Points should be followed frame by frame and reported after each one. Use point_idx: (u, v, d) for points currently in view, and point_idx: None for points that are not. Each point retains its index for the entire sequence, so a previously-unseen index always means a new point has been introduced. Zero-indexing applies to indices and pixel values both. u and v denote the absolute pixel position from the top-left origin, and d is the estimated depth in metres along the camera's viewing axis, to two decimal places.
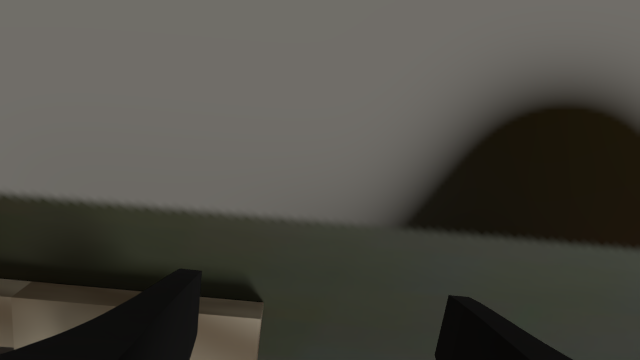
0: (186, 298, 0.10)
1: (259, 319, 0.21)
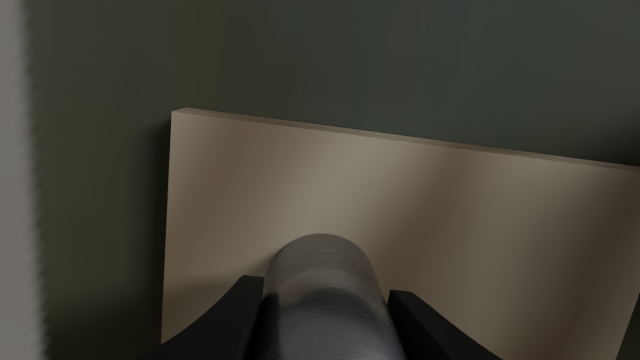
0: (258, 305, 0.10)
1: (173, 114, 0.12)
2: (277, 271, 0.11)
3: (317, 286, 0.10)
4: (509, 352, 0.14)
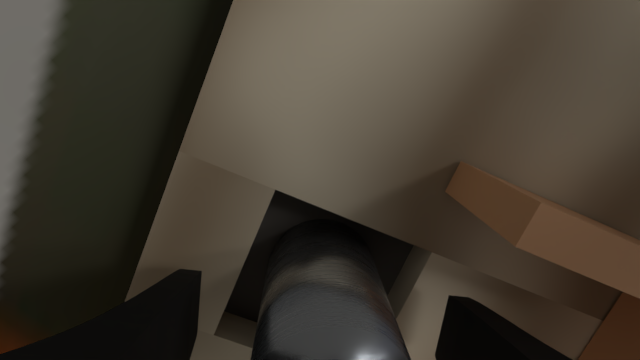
0: (186, 298, 0.10)
1: None
2: (280, 253, 0.12)
3: (317, 264, 0.10)
4: (633, 139, 0.12)
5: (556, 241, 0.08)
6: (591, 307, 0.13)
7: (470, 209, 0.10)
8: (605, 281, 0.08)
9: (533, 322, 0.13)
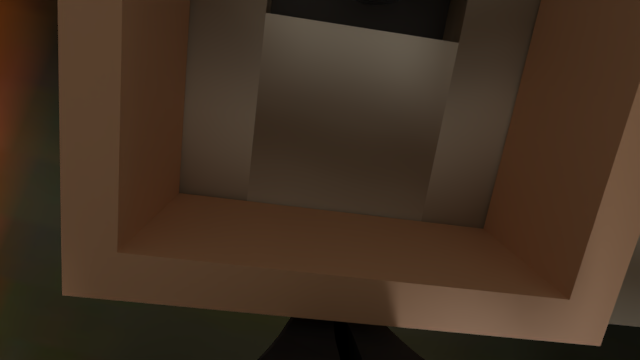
0: None
1: None
2: None
3: None
4: None
5: None
6: None
7: None
8: None
9: (395, 190, 0.12)
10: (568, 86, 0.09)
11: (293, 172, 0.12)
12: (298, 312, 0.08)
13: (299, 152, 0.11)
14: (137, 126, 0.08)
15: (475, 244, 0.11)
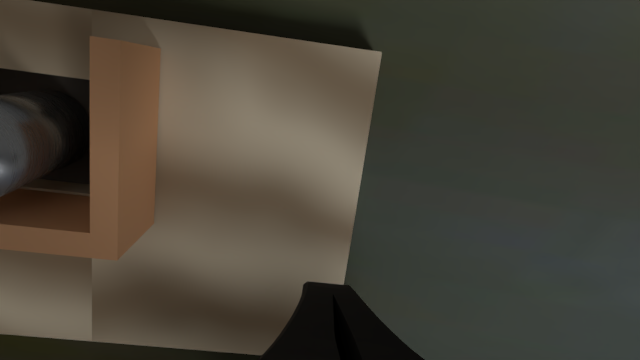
0: None
1: (380, 52, 0.18)
2: (62, 105, 0.18)
3: (54, 138, 0.16)
4: (205, 281, 0.20)
5: (102, 59, 0.13)
6: (97, 306, 0.20)
7: None
8: (91, 102, 0.14)
9: (71, 275, 0.20)
10: None
11: (6, 266, 0.19)
12: None
13: (7, 255, 0.19)
14: None
15: None
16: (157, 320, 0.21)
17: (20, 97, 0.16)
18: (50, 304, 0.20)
